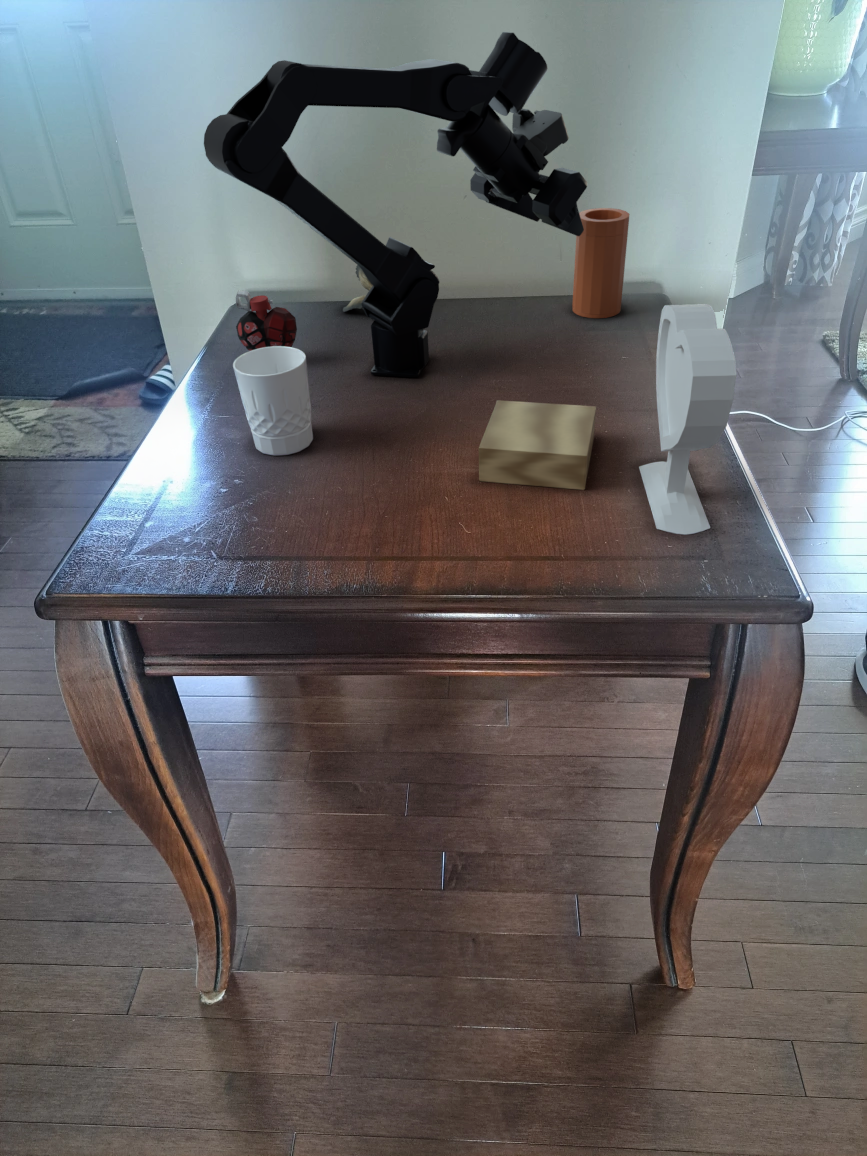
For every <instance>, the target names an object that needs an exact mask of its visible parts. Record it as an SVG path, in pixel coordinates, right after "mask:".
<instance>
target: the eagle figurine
mask: <svg viewBox="0 0 867 1156" xmlns="http://www.w3.org/2000/svg"><path fill="white" fill-rule="evenodd" d="M354 273H355V276H356V278H357V279H358V281H359V283H360V284H361V285H362V287H363V288H364V289H365V290H367V291H369V290H370V289H371V287H372V286H373V285H372V284H371V283H370V282H369V280H368V279H367V277H366V276H365V274H364V272H363V271H362V269H361V268H360V267H359V266H358V265H357V264H356V266H355V272H354ZM366 295H367V294H363V295H360V296H357V297H354V298H352V300H351V301H349V302H348V304H347V305H346V306H344V307H343V308H342V311H343V312H344V313H345V312H349V311H351V310H353V309H358V310H359V309H360V310H361V309H363V307H362V305H361V303H362V301H363V299H364V298H365V296H366Z"/></svg>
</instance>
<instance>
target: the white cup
mask: <svg viewBox="0 0 867 1156" xmlns="http://www.w3.org/2000/svg"><path fill="white" fill-rule="evenodd" d="M307 363H308V362H307V356H306V354H305V352H304V351H302V350H301V349H299V348H296V347H293V346H292V347H286V346H271V347H264V348H259V349H255V350H252V351H249V350H248V351H247V352H244V353H243V354H241V355H238V357H236V358H235V359H234V360H233V363H232V367H233V368H232V369H233V371H234V376H235V380H236V383H237V387H238V390H239V391H238V392H239V393H240V394H239V395H240V398H241V403H242V406H243V408H244V413H245V417H246V419H247V423H248V424H247V425H248V426H249V428H250V432H251V434H252V439H253V443H254V446H255V449H256V450H258V451H259V452H260V453H262V454H265V455H269V456H288V455H292V454H296V453H299V452H301V451H303V450H305V449H306V448H308V447H309V446H310V445H311V443H312V442H313V440H314V434H313V426H312V406H311V404H312V403H311V392H310V383H309V373H308V364H307Z"/></svg>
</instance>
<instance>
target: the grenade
mask: <svg viewBox="0 0 867 1156" xmlns="http://www.w3.org/2000/svg"><path fill="white" fill-rule="evenodd" d="M241 298H245V300H246V302H247V303H243V302H242V301H241ZM235 305H236V307H237V309H240V310H243V311H245V312H246V313H244V315H242V316H241V317H240V318H239V320H238V321H237V324H236V326H235V329H236V332H237V337H238V339H239V341H240V343H241V344H242V346H243V347H245V348H246V350H248V352H249V351H252V350H255V349H259V348H264V347H271V346H286V347H292V348H293V345H294V343H295V341H296V336H297V332H298V331H297V330H298V328H297V320H296V317H295V316H294V315H293V314H292V313H291V312H290V311H289V310H288V309H287V308H285V307H281V306H275V307H274V308H273V307H272V305H273V299H269V298H268V296H267V295H263V294H262V295H256V296H253V297H251V294H250V292H249V291H247V290H239V289H238V290H237V293H236V296H235Z"/></svg>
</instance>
